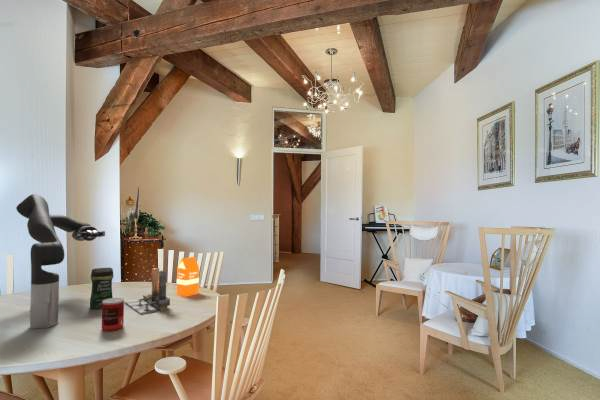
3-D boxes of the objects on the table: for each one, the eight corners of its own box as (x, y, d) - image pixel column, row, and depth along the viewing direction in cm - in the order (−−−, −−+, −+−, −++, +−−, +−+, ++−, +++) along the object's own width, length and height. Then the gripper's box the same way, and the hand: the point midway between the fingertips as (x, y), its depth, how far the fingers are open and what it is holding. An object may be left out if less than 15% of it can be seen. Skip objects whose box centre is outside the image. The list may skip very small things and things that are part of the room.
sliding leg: (162, 302, 169) (162, 268, 170) (140, 306, 162) (140, 271, 163) (158, 300, 173) (159, 267, 173) (137, 303, 166) (137, 269, 166)
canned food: (118, 323, 142) (118, 296, 142) (127, 327, 137) (127, 300, 137) (98, 328, 136) (98, 300, 136) (106, 333, 131) (107, 304, 131)
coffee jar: (90, 310, 159) (91, 270, 160) (88, 306, 165) (89, 267, 166) (114, 307, 165) (115, 268, 166) (111, 303, 171) (112, 265, 172)
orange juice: (198, 293, 192) (199, 257, 192) (185, 296, 185) (186, 259, 185) (189, 291, 196) (190, 256, 197) (176, 294, 189) (176, 257, 189)
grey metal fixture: (169, 308, 162) (170, 271, 163) (140, 314, 153) (141, 274, 154) (151, 298, 181) (151, 264, 181) (124, 302, 172) (124, 267, 172)
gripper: (73, 226, 178) (79, 228, 165) (102, 225, 187) (110, 227, 174) (73, 241, 178) (79, 243, 165) (101, 239, 186) (110, 242, 174)
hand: (95, 235), depth 169 cm, fingers closed
